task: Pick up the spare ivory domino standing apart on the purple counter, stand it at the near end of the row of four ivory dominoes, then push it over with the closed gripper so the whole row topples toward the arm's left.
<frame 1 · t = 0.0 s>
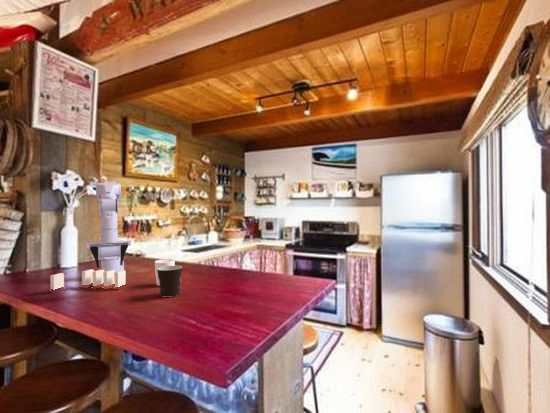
hand: (109, 266, 114), 11 cm above the breakfast bar, tool pointing down, fingers open, 7 cm apart
domino 2: (88, 287, 125), on the breakfast bar
domino 4: (109, 288, 123), on the breakfast bar
domino 3: (98, 287, 124), on the breakfast bar
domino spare: (57, 292, 119), on the breakfast bar
coffee mug: (171, 294, 113), on the breakfast bar
white cup: (165, 285, 127), on the breakfast bar
domino 5: (120, 288, 122), on the breakfast bar
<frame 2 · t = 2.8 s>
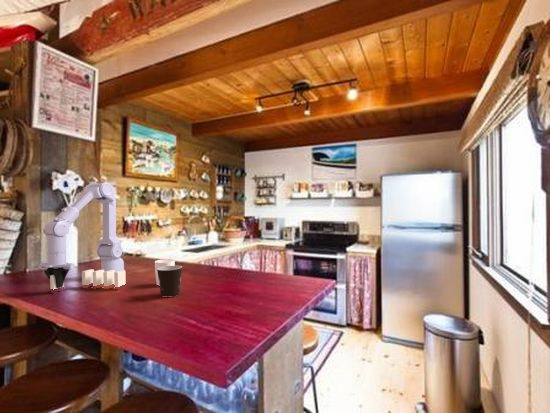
hand: (57, 287, 119), 2 cm above the breakfast bar, tool pointing down, fingers closed on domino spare, 2 cm apart
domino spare: (57, 292, 119), on the breakfast bar, touching gripper
everything else where it was.
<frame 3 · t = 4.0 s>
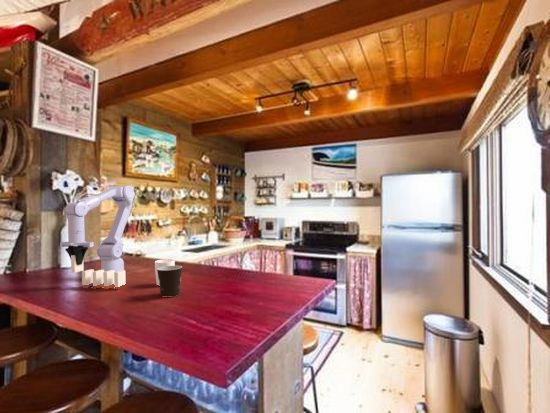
hand: (77, 264, 126), 9 cm above the breakfast bar, tool pointing down, fingers closed on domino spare
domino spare: (77, 271, 126), point 6 cm above the breakfast bar, touching gripper
everything else where it was.
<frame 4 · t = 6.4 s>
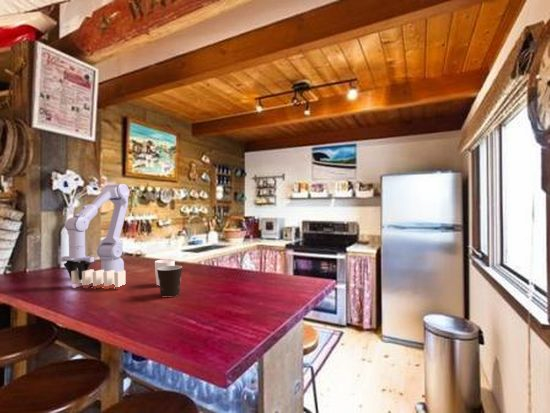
hand: (77, 279, 126), 3 cm above the breakfast bar, tool pointing down, fingers open, 4 cm apart
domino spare: (77, 287, 126), on the breakfast bar
everything else where it was.
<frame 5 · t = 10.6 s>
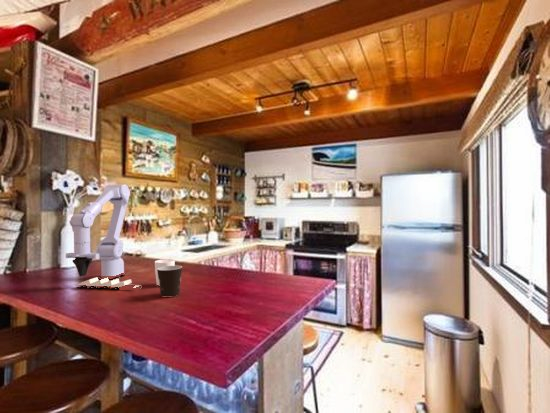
hand: (82, 275, 126), 5 cm above the breakfast bar, tool pointing down, fingers closed
domino 2: (90, 285, 125), point 1 cm above the breakfast bar, tilted 70°, touching domino 3, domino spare
domino 4: (112, 286, 123), point 1 cm above the breakfast bar, tilted 75°, touching domino 3
domino 3: (101, 286, 124), point 1 cm above the breakfast bar, tilted 73°, touching domino 2, domino 4
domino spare: (80, 285, 126), point 1 cm above the breakfast bar, tilted 71°, touching domino 2
domino 5: (122, 288, 122), on the breakfast bar, tilted 90°
everything else where it was.
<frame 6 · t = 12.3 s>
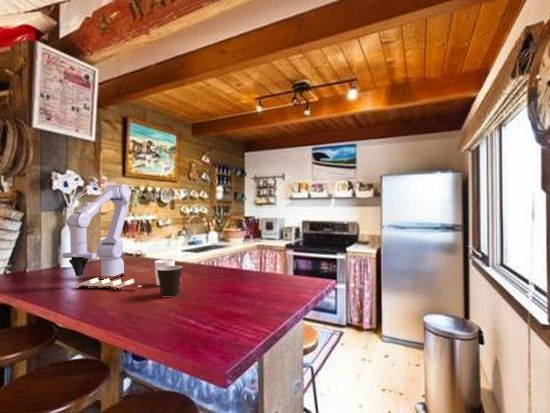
hand: (79, 275, 126), 5 cm above the breakfast bar, tool pointing down, fingers closed
domino 4: (116, 286, 122), point 1 cm above the breakfast bar, tilted 71°, touching domino 3
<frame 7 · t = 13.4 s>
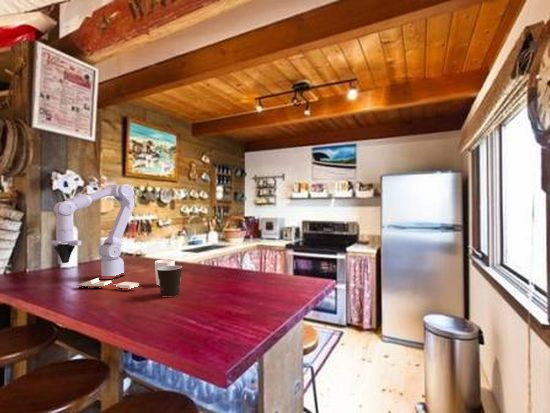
hand: (65, 262, 127), 10 cm above the breakfast bar, tool pointing down, fingers closed
domino 2: (92, 285, 125), point 1 cm above the breakfast bar, tilted 80°, touching domino 3, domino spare
domino 4: (121, 284, 122), point 2 cm above the breakfast bar, tilted 90°, touching domino 5
domino 3: (105, 287, 124), on the breakfast bar, tilted 90°, touching domino 2
domino 5: (125, 289, 121), on the breakfast bar, tilted 89°, touching domino 4
everything else where it was.
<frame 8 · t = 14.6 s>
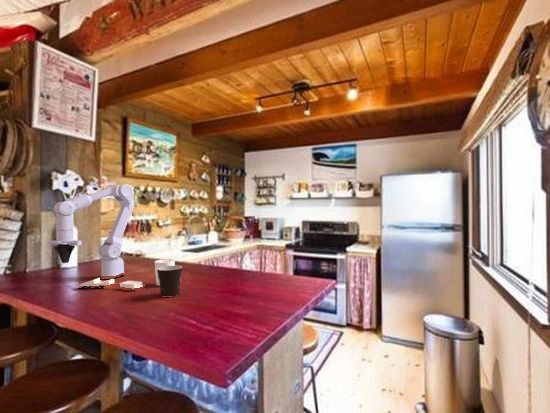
hand: (65, 262, 127), 10 cm above the breakfast bar, tool pointing down, fingers closed
domino 2: (94, 285, 124), point 1 cm above the breakfast bar, tilted 78°, touching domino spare
domino 4: (124, 283, 122), point 2 cm above the breakfast bar, tilted 90°
domino 3: (106, 287, 124), on the breakfast bar, tilted 90°
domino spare: (81, 286, 124), point 1 cm above the breakfast bar, tilted 72°, touching domino 2
domino 5: (125, 288, 122), on the breakfast bar, tilted 90°
everything else where it was.
at the end: domino 5 tilted 90°; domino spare tilted 72°; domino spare inside the target area (2.4 cm from its centre), point 0.8 cm above the breakfast bar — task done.
